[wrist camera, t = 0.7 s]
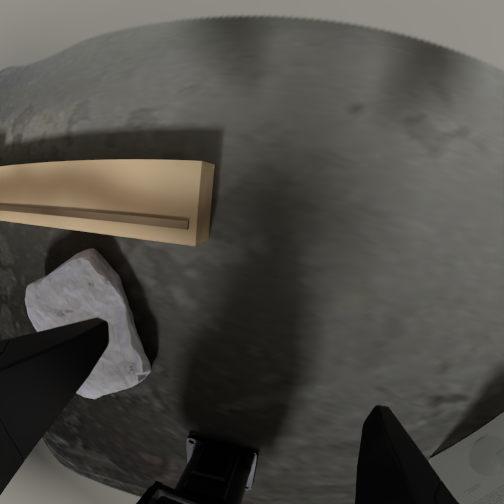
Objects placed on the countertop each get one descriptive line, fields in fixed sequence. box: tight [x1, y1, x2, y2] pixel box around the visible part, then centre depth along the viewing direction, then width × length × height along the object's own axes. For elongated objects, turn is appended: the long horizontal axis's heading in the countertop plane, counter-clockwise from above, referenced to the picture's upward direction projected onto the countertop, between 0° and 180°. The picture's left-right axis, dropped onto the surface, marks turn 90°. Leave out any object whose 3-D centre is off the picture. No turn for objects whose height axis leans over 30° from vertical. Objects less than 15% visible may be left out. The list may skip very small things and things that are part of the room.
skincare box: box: [429, 412, 504, 504], centre depth 15 cm, size 10×6×10 cm, turn 124°
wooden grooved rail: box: [0, 159, 215, 246], centre depth 21 cm, size 5×26×4 cm, turn 84°
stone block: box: [25, 248, 151, 399], centre depth 23 cm, size 12×5×10 cm
